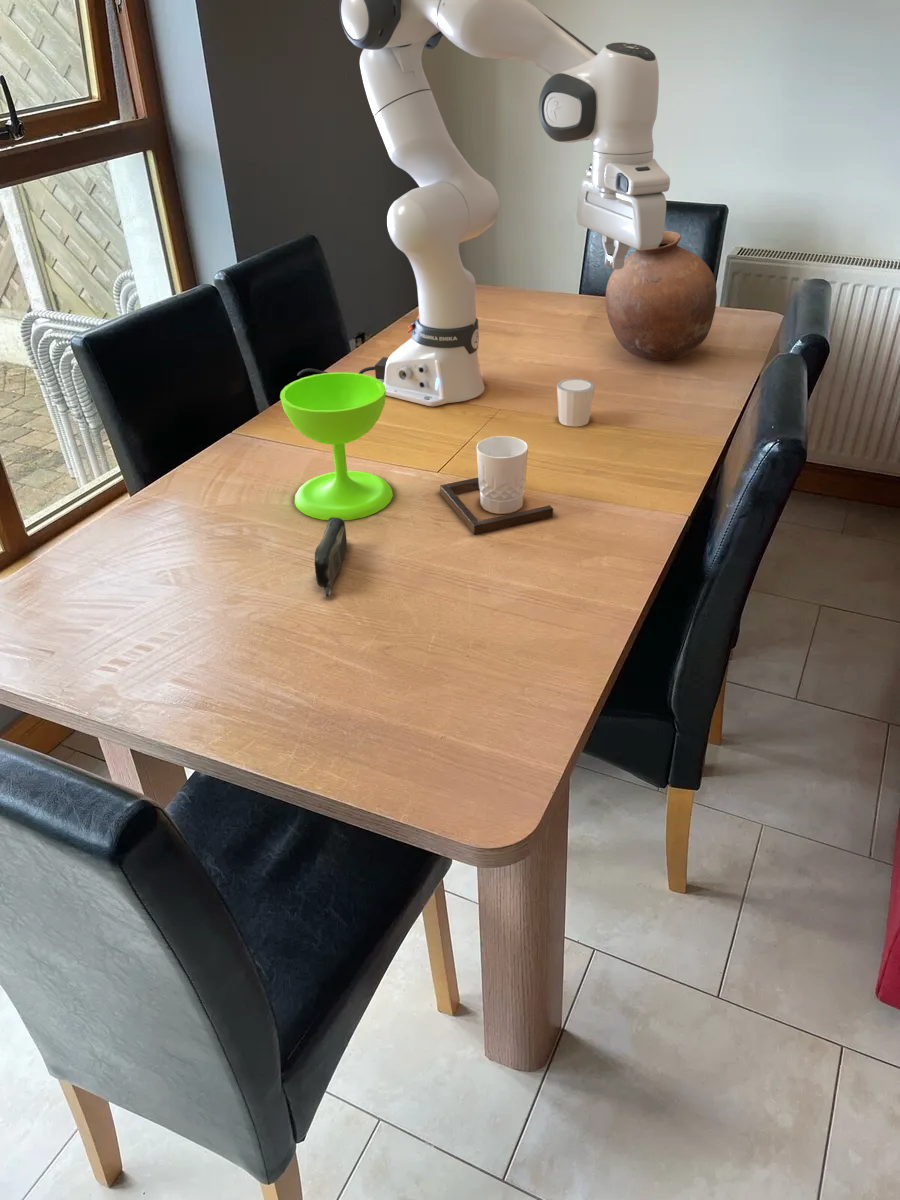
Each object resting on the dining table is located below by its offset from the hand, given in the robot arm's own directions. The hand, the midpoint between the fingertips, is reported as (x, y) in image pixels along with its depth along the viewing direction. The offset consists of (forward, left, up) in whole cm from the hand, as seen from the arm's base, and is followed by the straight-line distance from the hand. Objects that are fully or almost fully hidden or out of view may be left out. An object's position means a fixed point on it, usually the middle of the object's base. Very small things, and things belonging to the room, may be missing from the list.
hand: (614, 267), depth 144 cm
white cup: (-9, -25, -31) cm, 41 cm away
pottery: (-2, +50, -31) cm, 59 cm away
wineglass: (-34, -32, -31) cm, 56 cm away
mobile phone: (-25, -52, -31) cm, 66 cm away
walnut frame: (-9, -26, -31) cm, 41 cm away
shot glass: (-8, +10, -31) cm, 34 cm away
